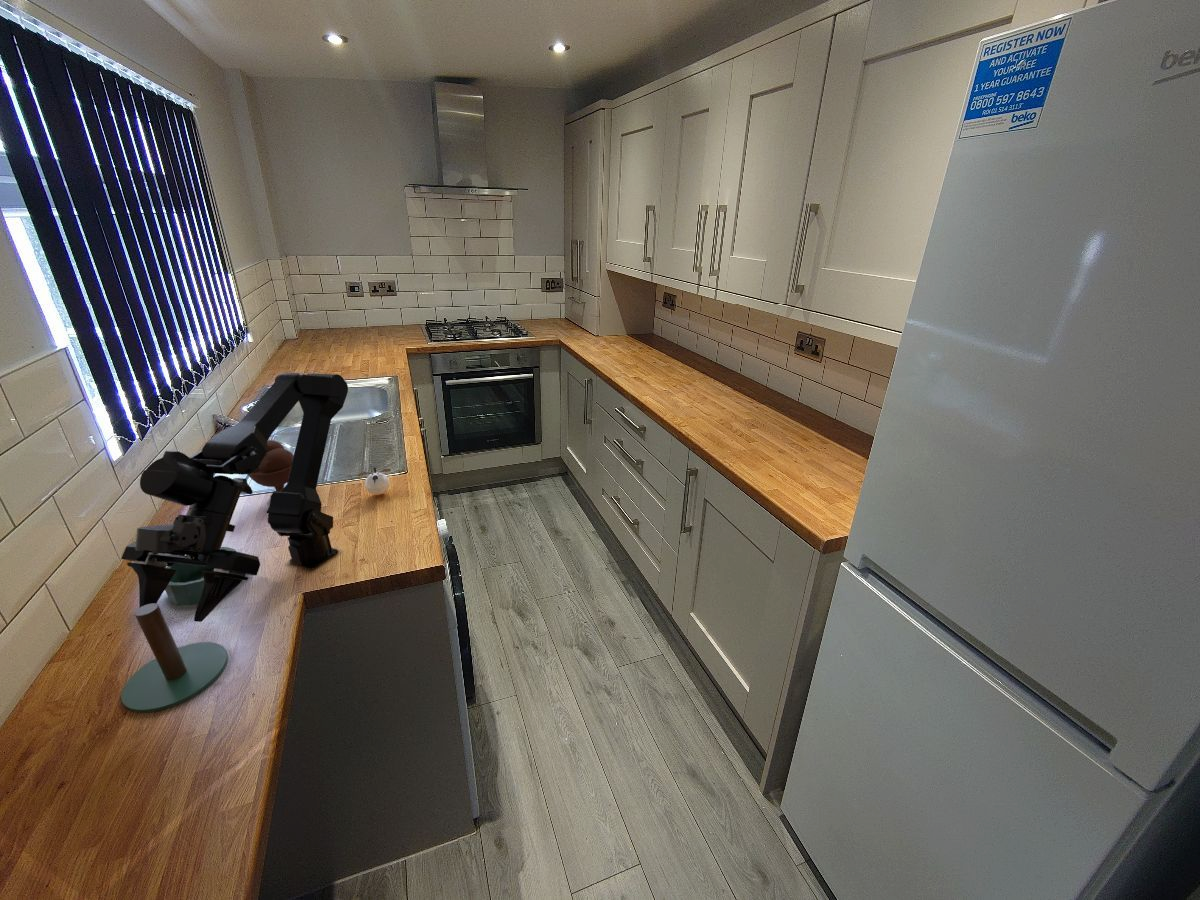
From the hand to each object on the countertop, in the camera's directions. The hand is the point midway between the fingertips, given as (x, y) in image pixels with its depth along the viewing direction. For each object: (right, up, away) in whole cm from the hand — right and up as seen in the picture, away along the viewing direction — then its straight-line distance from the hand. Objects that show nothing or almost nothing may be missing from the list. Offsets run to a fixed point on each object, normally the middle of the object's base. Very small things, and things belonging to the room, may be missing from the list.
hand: (170, 618), depth 76 cm
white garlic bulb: (+8, +16, +52) cm, 55 cm away
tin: (-11, -1, +22) cm, 24 cm away
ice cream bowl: (-15, +12, +52) cm, 56 cm away
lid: (0, -9, +2) cm, 9 cm away
